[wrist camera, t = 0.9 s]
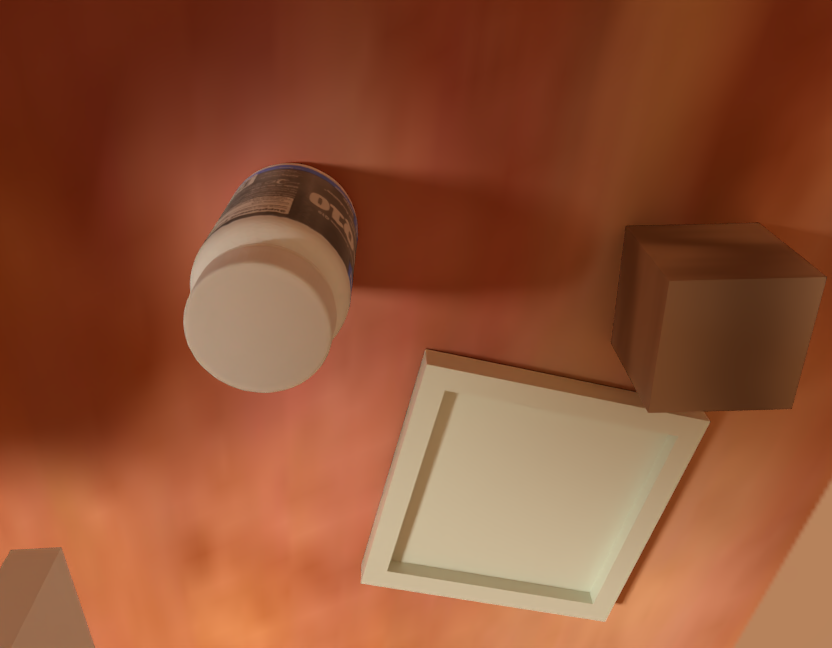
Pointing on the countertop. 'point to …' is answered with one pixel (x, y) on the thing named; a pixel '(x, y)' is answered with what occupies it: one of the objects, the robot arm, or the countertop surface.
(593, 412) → the tray
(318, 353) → the pill bottle
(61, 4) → the countertop surface
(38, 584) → the robot arm
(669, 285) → the walnut cube
